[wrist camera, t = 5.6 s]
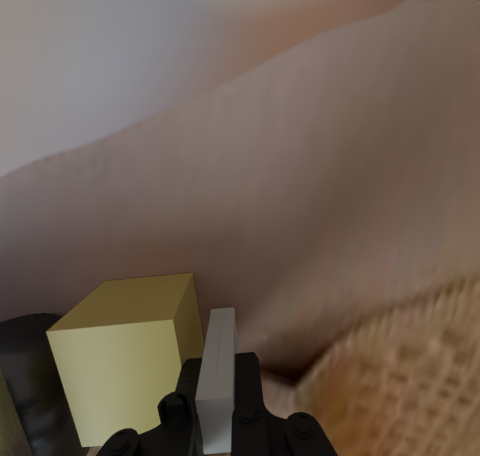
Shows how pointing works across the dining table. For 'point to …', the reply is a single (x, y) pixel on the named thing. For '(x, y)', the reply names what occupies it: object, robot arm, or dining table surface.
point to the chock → (125, 352)
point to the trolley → (33, 393)
